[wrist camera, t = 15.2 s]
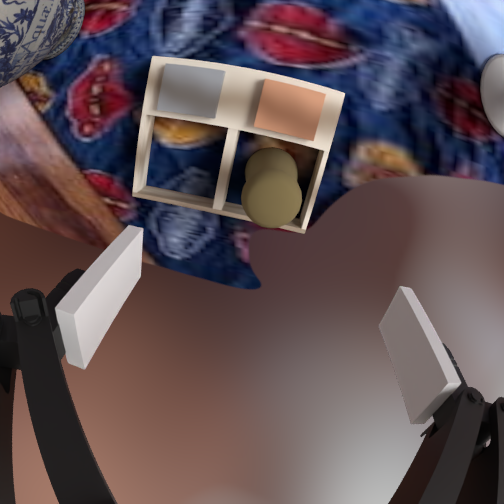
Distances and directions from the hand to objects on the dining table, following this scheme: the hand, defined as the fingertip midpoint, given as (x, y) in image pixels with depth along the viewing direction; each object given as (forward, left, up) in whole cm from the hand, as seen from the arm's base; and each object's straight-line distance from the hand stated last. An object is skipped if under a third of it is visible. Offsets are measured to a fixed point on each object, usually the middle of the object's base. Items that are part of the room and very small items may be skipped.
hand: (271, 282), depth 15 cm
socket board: (-3, -5, -23) cm, 23 cm away
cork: (0, 0, -23) cm, 23 cm away
